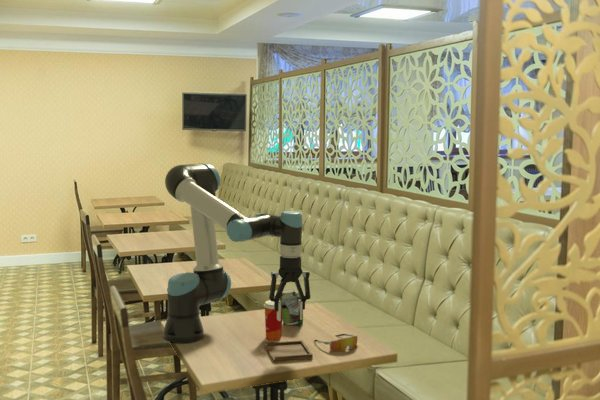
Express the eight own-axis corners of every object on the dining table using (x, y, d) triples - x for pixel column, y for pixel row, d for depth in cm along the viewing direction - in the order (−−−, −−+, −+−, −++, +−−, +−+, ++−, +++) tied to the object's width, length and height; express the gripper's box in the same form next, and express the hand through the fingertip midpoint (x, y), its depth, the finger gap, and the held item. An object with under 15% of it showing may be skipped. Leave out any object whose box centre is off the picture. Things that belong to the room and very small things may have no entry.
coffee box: (281, 324, 264) (282, 292, 262) (284, 322, 267) (285, 290, 265) (300, 326, 261) (301, 295, 259) (303, 324, 264) (304, 293, 262)
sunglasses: (333, 354, 233) (332, 341, 233) (309, 347, 246) (309, 334, 246) (364, 347, 241) (363, 334, 241) (339, 340, 253) (339, 327, 253)
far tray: (265, 347, 238) (265, 342, 238) (302, 345, 241) (302, 340, 241) (273, 362, 224) (273, 357, 224) (312, 359, 228) (312, 354, 228)
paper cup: (268, 333, 253) (269, 298, 251) (286, 336, 250) (287, 301, 248) (259, 339, 245) (260, 303, 243) (278, 343, 243) (279, 306, 241)
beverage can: (297, 327, 227) (298, 293, 226) (277, 325, 229) (277, 292, 227) (301, 321, 233) (302, 288, 232) (281, 319, 235) (281, 287, 233)
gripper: (264, 259, 222) (263, 324, 225) (321, 257, 227) (319, 320, 230) (260, 254, 229) (259, 317, 232) (315, 252, 234) (313, 314, 237)
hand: (289, 319), depth 231 cm, fingers closed on beverage can, 7 cm apart
